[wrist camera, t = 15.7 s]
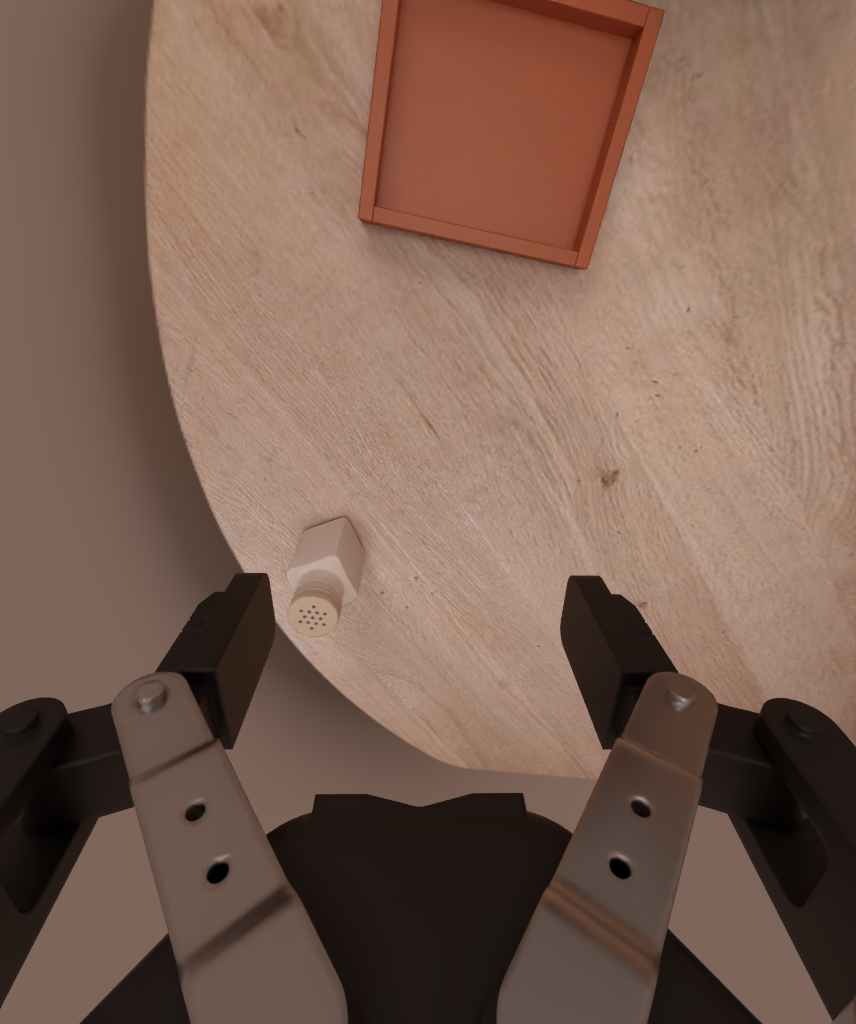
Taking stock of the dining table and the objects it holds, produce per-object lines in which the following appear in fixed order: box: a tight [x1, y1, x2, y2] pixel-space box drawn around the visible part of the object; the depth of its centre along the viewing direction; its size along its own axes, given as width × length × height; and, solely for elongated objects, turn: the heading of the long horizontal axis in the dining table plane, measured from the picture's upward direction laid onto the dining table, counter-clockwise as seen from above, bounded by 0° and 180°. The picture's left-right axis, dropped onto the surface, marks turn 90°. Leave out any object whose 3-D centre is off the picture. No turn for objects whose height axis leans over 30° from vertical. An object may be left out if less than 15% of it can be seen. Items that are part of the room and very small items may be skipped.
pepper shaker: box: [287, 518, 364, 637], centre depth 35 cm, size 4×4×10 cm
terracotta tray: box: [358, 0, 664, 269], centre depth 27 cm, size 14×12×2 cm
